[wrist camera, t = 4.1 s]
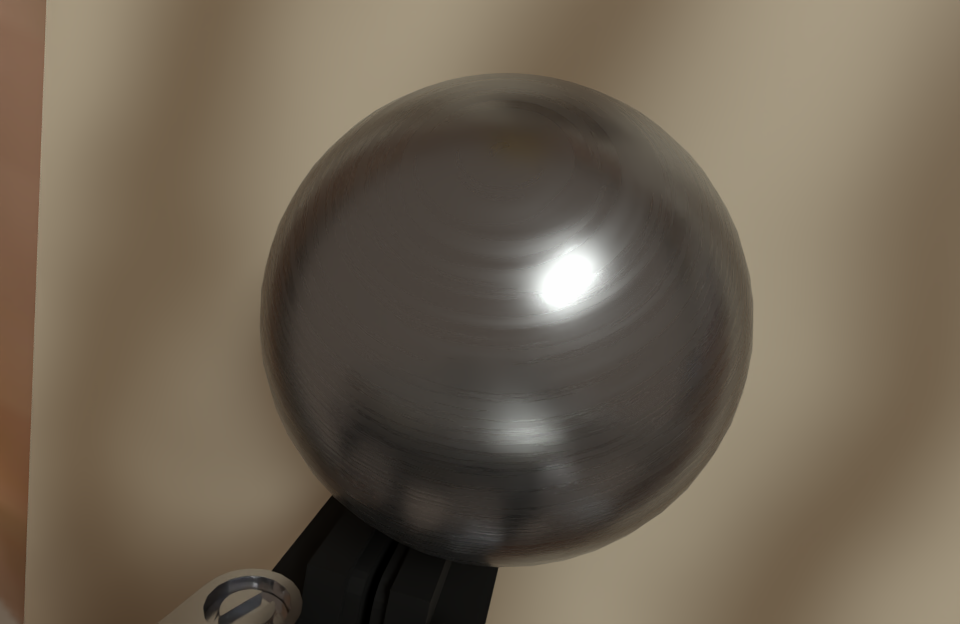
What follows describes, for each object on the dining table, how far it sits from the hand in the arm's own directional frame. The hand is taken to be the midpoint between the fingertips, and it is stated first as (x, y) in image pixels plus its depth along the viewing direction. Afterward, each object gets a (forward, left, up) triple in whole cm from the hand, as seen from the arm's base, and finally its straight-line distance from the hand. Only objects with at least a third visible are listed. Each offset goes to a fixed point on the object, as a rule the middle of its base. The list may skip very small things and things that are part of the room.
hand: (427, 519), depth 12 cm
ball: (-1, -5, +2) cm, 5 cm away
